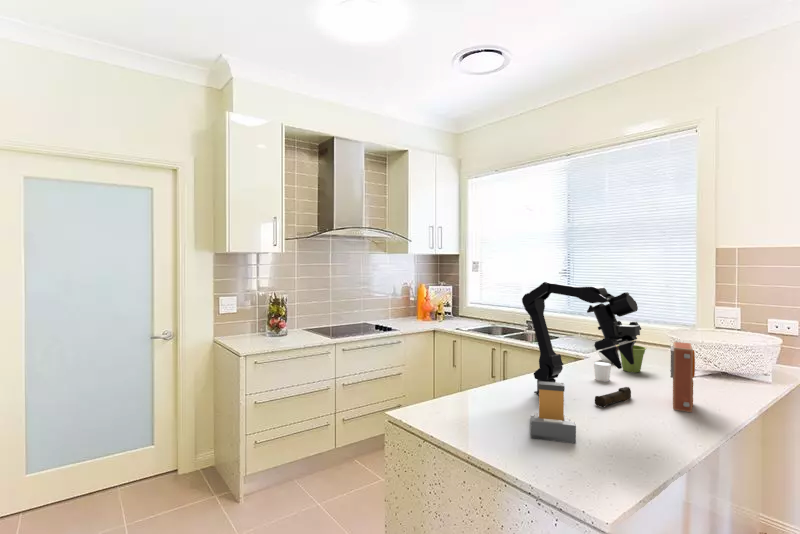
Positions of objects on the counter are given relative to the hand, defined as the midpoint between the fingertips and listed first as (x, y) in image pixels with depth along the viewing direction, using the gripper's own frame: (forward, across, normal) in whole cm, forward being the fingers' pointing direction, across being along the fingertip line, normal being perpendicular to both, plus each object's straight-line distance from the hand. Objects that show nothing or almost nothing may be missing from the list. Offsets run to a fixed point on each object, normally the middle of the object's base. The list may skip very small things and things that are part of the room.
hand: (626, 366), depth 140 cm
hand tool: (+12, +11, +15) cm, 22 cm away
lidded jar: (-1, +73, +42) cm, 84 cm away
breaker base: (+11, -30, +15) cm, 35 cm away
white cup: (+5, +37, +30) cm, 48 cm away
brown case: (+18, +26, 0) cm, 32 cm away
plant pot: (+5, +62, +28) cm, 68 cm away
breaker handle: (+9, -27, +16) cm, 33 cm away
